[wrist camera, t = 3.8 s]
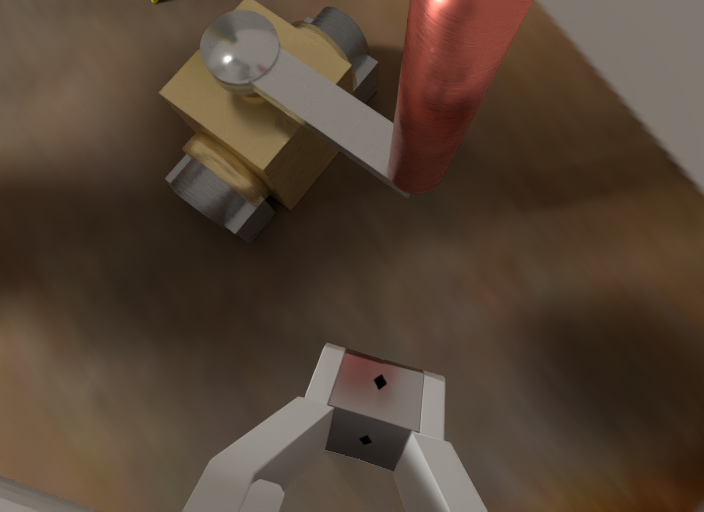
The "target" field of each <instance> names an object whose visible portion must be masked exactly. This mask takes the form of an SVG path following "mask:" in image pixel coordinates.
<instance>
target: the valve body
mask: <svg viewBox="0 0 704 512" xmlns="http://www.w3.org/2000/svg"><path fill="white" fill-rule="evenodd" d="M236 10H248V11H253V12H257V13H259V14H261V15H263V16H264V17H266V18H267V19H268V20H269V21H270V22H271V23H272V24H273V26H274V28H275V30H276V32H277V35H278V38H279V42H280V45H281V48H282V49H284V50H285V51H287V52H288V53H290V54H291V55H293V56H294V57H296V58H297V59H298V60H300V61H301V62H303V63H304V64H306V65H307V66H309V67H310V68H312V69H313V70H315V71H316V72H318V73H319V74H321V75H322V76H324V77H325V78H327V79H328V80H330V81H331V82H333V83H334V84H336V85H337V86H339V87H340V88H342V89H343V90H345V91H346V92H348V93H349V94H350V95H352V96H353V97H355V98H356V99H358V100H359V101H361V102H362V103H364V104H366V103H367V102H368V101H369V99H370V98H371V97H372V96H373V95H374V93H375V92H376V91H377V82H378V61H376V60H375V59H373V58H371V57H370V56H368V55H369V49H368V45H367V42H366V39H365V37H364V35H363V33H362V32H361V30H360V29H359V27H358V26H357V25H356V23H355V22H354V21H353V20H352V19H351V18H350V17H349V16H348V15H347V14H345V13H344V12H342V11H341V10H339V9H337V8H334V7H325V8H324V9H323V10H322V11H321V12H320V13H319V14H318V15H317V16H316V18H315V19H314V20H313V19H311V18H310V17H307V18H306V19H305V20H304V21H296V22H294V23H293V24H292V25H290V24H289V23H287V22H286V21H284V20H283V19H281V18H280V17H278V16H277V15H275V14H274V13H272V12H271V11H269V10H268V9H266V8H265V7H263V6H262V5H260V4H259V3H257V2H256V1H254V0H243V1H242V2H241V3H240V5H239V6H238V7H237V8H236V9H235V10H234V11H236ZM159 94H160V95H161V96H162V97H163V98H164V99H165V100H166V102H167V103H168V104H169V105H170V106H171V107H172V108H173V109H174V110H175V111H176V113H177V114H178V115H179V116H180V117H181V118H182V119H183V120H184V121H185V123H186V124H187V125H188V126H189V127H190V128H191V129H192V130H193V131H194V133H195V134H194V135H193V136H192V138H191V139H190V140H189V141H188V142H187V143H186V144H185V145H184V147H183V148H182V150H183V152H184V153H185V154H186V155H185V156H184V157H183V159H182V160H181V161H180V162H179V163H178V164H177V165H176V166H175V168H174V169H173V170H172V171H171V172H170V173H169V174H168V176H167V177H166V178H165V180H167V181H168V182H169V183H170V184H169V185H168V187H169V188H170V189H171V190H173V191H174V192H175V193H176V194H177V195H179V196H180V197H181V198H183V199H184V200H185V201H186V202H188V203H189V204H190V205H192V206H193V207H194V208H196V209H197V210H198V211H199V212H201V213H202V214H203V215H205V216H206V217H208V218H209V219H210V220H212V221H213V222H214V223H216V224H217V225H219V226H220V227H222V228H223V229H225V228H226V227H227V228H228V229H229V230H230V231H232V232H233V233H234V234H236V235H237V236H239V237H240V238H242V239H243V240H244V241H246V242H247V243H249V244H251V243H252V242H253V240H254V239H255V238H256V237H257V236H258V234H259V233H260V232H261V231H262V229H263V228H264V227H265V226H266V225H267V223H268V222H269V221H270V220H271V219H272V217H273V216H274V215H275V214H276V213H275V211H274V210H273V209H272V208H271V207H270V205H269V204H268V203H267V202H266V201H265V199H266V198H267V197H268V196H269V195H270V196H271V197H273V198H274V199H275V200H277V201H278V202H279V203H281V204H282V205H283V206H285V207H286V208H287V209H289V210H290V211H291V210H292V209H293V208H294V207H295V205H296V204H297V203H298V202H299V201H300V199H301V198H302V197H303V196H304V194H305V193H306V192H307V191H308V189H309V188H310V187H311V186H312V185H313V183H314V182H315V181H316V180H317V178H318V177H319V176H320V175H321V174H322V172H323V171H324V170H325V169H326V167H327V166H328V165H329V164H330V163H331V161H332V160H333V159H334V158H335V156H336V155H337V154H338V153H339V152H340V151H339V150H337V149H336V148H334V147H333V146H331V145H330V144H329V143H327V142H326V141H324V140H323V139H322V138H320V137H319V136H317V135H316V134H314V133H313V132H312V131H310V130H309V129H307V128H306V127H304V126H303V125H302V124H300V123H299V122H297V121H296V120H295V119H293V118H292V117H290V116H289V115H287V114H286V113H285V112H283V111H282V110H280V109H279V108H278V107H276V106H275V105H273V104H272V103H270V102H269V101H268V100H266V99H265V98H263V97H262V96H260V95H259V94H258V93H252V94H235V93H231V92H229V91H227V90H225V89H223V88H222V87H221V86H219V85H218V84H217V83H216V81H215V80H214V78H213V77H212V75H211V73H210V72H209V70H208V69H207V67H206V65H205V64H204V62H203V60H202V57H201V54H200V48H199V49H198V50H197V51H196V53H195V54H194V55H193V56H192V57H191V58H190V59H189V60H188V61H187V62H186V63H185V65H184V66H183V67H182V68H181V69H180V70H179V71H178V72H177V73H176V74H175V75H174V77H173V78H172V79H171V80H170V81H169V82H168V83H167V84H166V85H165V86H164V87H163V89H162V90H161V91H160V92H159Z"/></svg>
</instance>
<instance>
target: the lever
mask: <svg viewBox="0 0 704 512" xmlns="http://www.w3.org/2000/svg"><path fill="white" fill-rule="evenodd" d="M532 1H533V0H410V3H409V11H408V19H407V26H406V34H405V41H404V49H403V57H402V64H401V72H400V80H399V87H398V95H397V102H396V110H395V118H394V123H392V122H391V121H389V120H388V119H386V118H385V117H383V116H382V115H380V114H379V113H377V112H376V111H374V110H373V109H371V108H370V107H368V106H367V105H365V104H364V103H362V102H361V101H359V100H358V99H356V98H355V97H353V96H352V95H350V94H349V93H348V92H346V91H345V90H343V89H342V88H340V87H339V86H337V85H336V84H334V83H333V82H331V81H330V80H328V79H327V78H325V77H324V76H322V75H321V74H319V73H318V72H316V71H315V70H313V69H312V68H310V67H309V66H307V65H306V64H304V63H303V62H301V61H300V60H298V59H297V58H296V57H294V56H293V55H291V54H290V53H288V52H287V51H285V50H284V49H282V48H281V45H280V42H279V38H278V35H277V32H276V30H275V28H274V26H273V24H272V23H271V22H270V21H269V20H268V19H267V18H266V17H264V16H263V15H261V14H259V13H257V12H253V11H248V10H236V11H231V12H228V13H225V14H223V15H221V16H219V17H218V18H216V19H215V20H214V21H213V22H212V23H211V24H210V25H209V26H208V27H207V28H206V30H205V31H204V33H203V36H202V38H201V42H200V54H201V57H202V60H203V62H204V64H205V65H206V67H207V69H208V70H209V72H210V73H211V75H212V77H213V78H214V80H215V81H216V83H217V84H218V85H219V86H221V87H222V88H223V89H225V90H227V91H229V92H231V93H235V94H252V93H258V94H259V95H260V96H262V97H263V98H265V99H266V100H268V101H269V102H270V103H272V104H273V105H275V106H276V107H278V108H279V109H280V110H282V111H283V112H285V113H286V114H287V115H289V116H290V117H292V118H293V119H295V120H296V121H297V122H299V123H300V124H302V125H303V126H304V127H306V128H307V129H309V130H310V131H312V132H313V133H314V134H316V135H317V136H319V137H320V138H322V139H323V140H324V141H326V142H327V143H329V144H330V145H331V146H333V147H334V148H336V149H337V150H339V151H340V152H341V153H343V154H344V155H346V156H347V157H349V158H350V159H351V160H353V161H354V162H356V163H357V164H358V165H360V166H361V167H363V168H364V169H366V170H367V171H368V172H370V173H371V174H373V175H374V176H375V177H377V178H378V179H380V180H381V181H383V182H384V183H385V184H387V185H388V186H390V187H391V188H393V189H394V190H395V191H397V192H398V193H400V194H401V195H402V196H404V197H405V198H407V199H408V198H409V197H410V195H411V194H423V193H426V192H429V191H431V190H432V189H434V188H435V187H436V186H437V185H438V184H439V182H440V181H441V179H442V177H443V175H444V173H445V171H446V169H447V167H448V165H449V163H450V161H451V159H452V158H453V156H454V154H455V152H456V150H457V148H458V146H459V144H460V142H461V140H462V138H463V136H464V134H465V132H466V130H467V128H468V126H469V124H470V122H471V120H472V118H473V116H474V115H475V113H476V111H477V109H478V107H479V105H480V103H481V101H482V99H483V97H484V95H485V93H486V91H487V89H488V87H489V85H490V83H491V81H492V79H493V77H494V75H495V74H496V72H497V70H498V68H499V66H500V64H501V62H502V60H503V58H504V56H505V54H506V52H507V50H508V48H509V46H510V44H511V42H512V40H513V38H514V36H515V34H516V32H517V31H518V29H519V27H520V25H521V23H522V21H523V19H524V17H525V15H526V13H527V11H528V9H529V7H530V5H531V3H532Z"/></svg>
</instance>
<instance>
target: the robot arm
mask: <svg viewBox="0 0 704 512" xmlns="http://www.w3.org/2000/svg"><path fill="white" fill-rule="evenodd" d="M444 426H445V378H444V376H440V375H437V374H433V373H430V372H427V371H423V370H421V369H417V368H414V367H410V366H406V365H403V364H399V363H395V362H392V361H388V360H382V359H379V358H376V357H373V356H369V355H366V354H363V353H360V352H357V351H354V350H350V349H347V348H344V347H340V346H337V345H334V344H330V343H326V345H325V346H324V348H323V351H322V353H321V356H320V358H319V361H318V364H317V366H316V369H315V371H314V374H313V377H312V379H311V382H310V384H309V387H308V390H307V392H306V395H305V397H304V398H303V397H299V396H298V397H297V398H295V399H294V400H293V401H291V402H290V403H288V404H287V405H286V406H284V407H283V408H282V409H280V410H279V411H277V412H276V413H275V414H273V415H272V416H270V417H269V418H268V419H266V420H265V421H263V422H262V423H261V424H259V425H258V426H256V427H255V428H254V429H252V430H251V431H250V432H248V433H247V434H245V435H244V436H243V437H241V438H240V439H238V440H237V441H236V442H234V443H233V444H231V445H230V446H229V447H227V448H226V449H225V450H223V451H222V452H220V453H219V454H218V455H216V456H215V457H213V458H212V459H211V460H210V461H209V463H208V465H207V467H206V469H205V471H204V472H203V474H202V476H201V478H200V480H199V482H198V483H197V485H196V487H195V489H194V491H193V493H192V494H191V496H190V498H189V500H188V502H187V504H186V505H185V507H184V509H183V511H182V512H283V504H284V495H285V494H284V492H285V491H286V490H287V489H288V488H289V487H290V486H291V485H292V484H293V483H294V482H295V481H296V480H297V479H298V478H299V477H300V476H301V475H302V474H303V473H304V472H305V471H306V470H307V469H308V468H309V467H310V466H311V465H312V464H313V463H314V462H315V461H316V460H317V459H318V458H319V457H320V456H321V455H322V454H323V453H324V451H325V450H327V451H331V452H334V453H338V454H341V455H345V456H348V457H352V458H355V459H358V460H361V461H364V462H367V463H370V464H373V465H376V466H379V467H382V468H384V469H387V470H390V471H393V476H394V479H395V482H396V485H397V488H398V491H399V494H400V497H401V500H402V503H403V506H404V509H405V512H488V511H487V509H486V507H485V506H484V504H483V502H482V500H481V498H480V496H479V495H478V493H477V491H476V489H475V487H474V485H473V483H472V482H471V480H470V478H469V476H468V474H467V472H466V470H465V469H464V467H463V465H462V463H461V461H460V459H459V457H458V456H457V454H456V452H455V450H454V448H453V446H452V445H451V443H450V442H447V441H444ZM0 512H101V511H98V510H95V509H92V508H90V507H87V506H84V505H81V504H78V503H76V502H73V501H70V500H67V499H64V498H61V497H59V496H56V495H53V494H50V493H47V492H45V491H42V490H39V489H36V488H33V487H31V486H28V485H25V484H22V483H19V482H17V481H14V480H11V479H8V478H5V477H3V476H0Z"/></svg>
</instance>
